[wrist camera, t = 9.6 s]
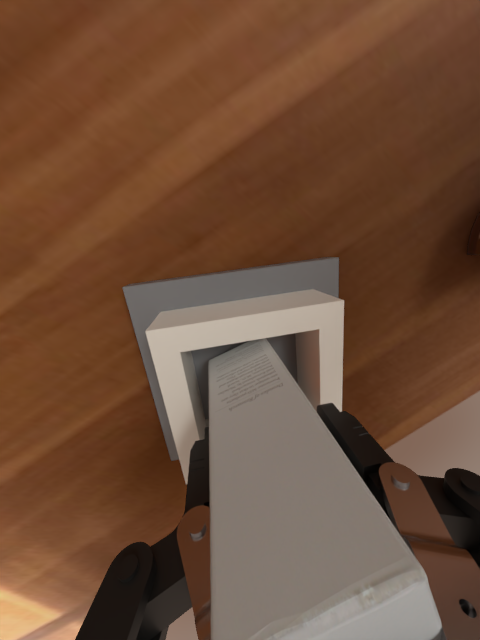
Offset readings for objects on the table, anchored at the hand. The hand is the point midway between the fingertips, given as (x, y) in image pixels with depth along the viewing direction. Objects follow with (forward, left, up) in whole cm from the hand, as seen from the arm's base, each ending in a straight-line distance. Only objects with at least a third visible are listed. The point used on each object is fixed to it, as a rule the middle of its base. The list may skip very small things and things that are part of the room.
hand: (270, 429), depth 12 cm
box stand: (0, 0, -8) cm, 8 cm away
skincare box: (0, 0, -5) cm, 5 cm away
